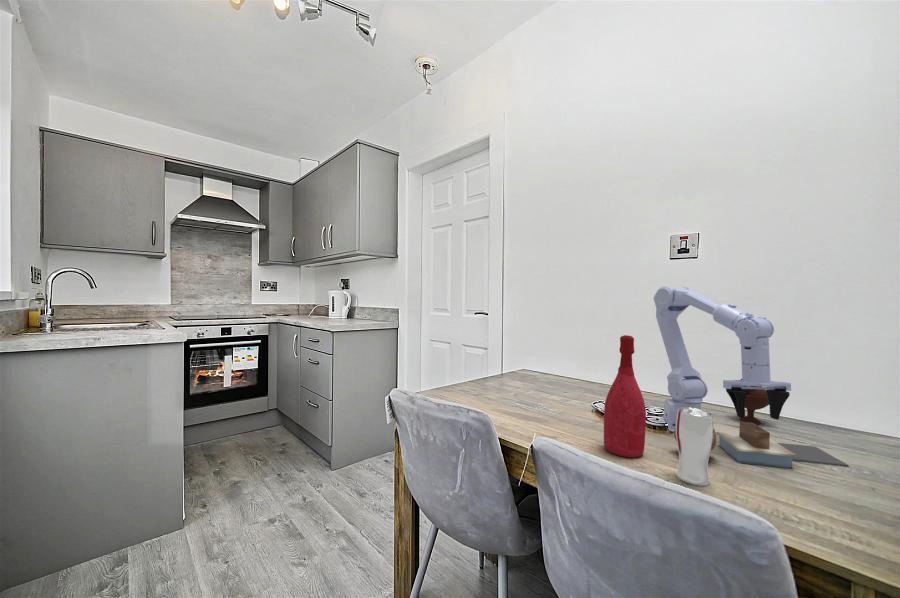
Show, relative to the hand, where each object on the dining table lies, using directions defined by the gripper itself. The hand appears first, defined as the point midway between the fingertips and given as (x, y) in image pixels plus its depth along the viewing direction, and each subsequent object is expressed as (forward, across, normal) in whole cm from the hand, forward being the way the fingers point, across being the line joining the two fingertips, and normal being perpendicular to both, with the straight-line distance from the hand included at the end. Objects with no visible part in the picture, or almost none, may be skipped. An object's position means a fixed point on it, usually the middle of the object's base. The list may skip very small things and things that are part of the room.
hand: (757, 417), depth 98 cm
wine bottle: (+9, -34, -4) cm, 35 cm away
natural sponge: (+10, -16, -4) cm, 19 cm away
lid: (+7, -1, 0) cm, 7 cm away
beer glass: (+10, -22, -17) cm, 30 cm away
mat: (+10, +12, +5) cm, 17 cm away
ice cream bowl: (+9, +15, +32) cm, 37 cm away
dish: (+10, -1, 0) cm, 10 cm away
